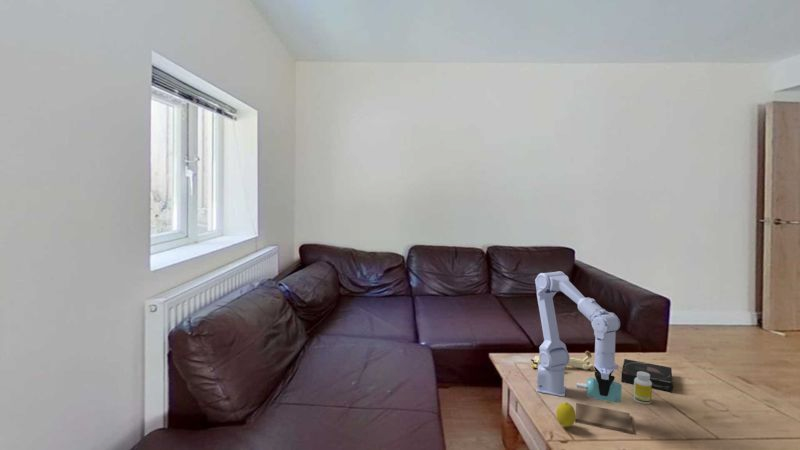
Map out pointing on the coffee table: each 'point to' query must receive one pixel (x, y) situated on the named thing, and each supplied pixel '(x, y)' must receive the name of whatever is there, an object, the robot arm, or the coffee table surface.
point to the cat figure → (570, 362)
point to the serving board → (603, 418)
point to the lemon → (565, 414)
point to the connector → (594, 392)
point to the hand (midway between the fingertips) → (603, 392)
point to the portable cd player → (658, 374)
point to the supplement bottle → (642, 388)
